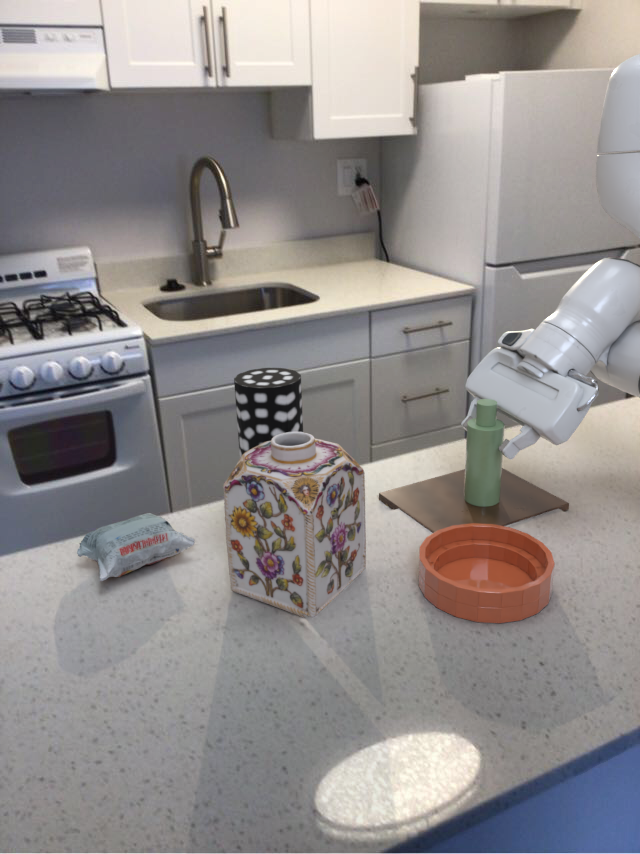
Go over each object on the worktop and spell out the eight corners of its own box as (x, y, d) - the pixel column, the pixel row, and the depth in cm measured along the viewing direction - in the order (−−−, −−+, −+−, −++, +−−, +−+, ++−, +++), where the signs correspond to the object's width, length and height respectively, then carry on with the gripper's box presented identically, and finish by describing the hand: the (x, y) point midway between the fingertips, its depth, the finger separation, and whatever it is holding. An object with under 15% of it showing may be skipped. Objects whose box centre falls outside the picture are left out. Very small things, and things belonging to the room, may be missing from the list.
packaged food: (196, 560, 92) (192, 524, 90) (102, 595, 86) (96, 557, 84) (165, 533, 99) (161, 499, 97) (76, 564, 92) (70, 528, 91)
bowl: (491, 544, 93) (493, 512, 92) (579, 603, 82) (583, 567, 80) (393, 577, 87) (394, 543, 86) (473, 646, 75) (475, 608, 74)
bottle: (484, 488, 106) (489, 393, 101) (507, 501, 102) (513, 403, 97) (456, 496, 104) (460, 400, 99) (479, 510, 100) (484, 410, 95)
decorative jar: (313, 625, 79) (307, 469, 73) (227, 593, 85) (214, 446, 79) (369, 571, 89) (368, 429, 82) (288, 546, 95) (281, 411, 88)
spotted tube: (253, 504, 106) (243, 367, 98) (311, 507, 104) (306, 368, 97) (237, 533, 98) (225, 387, 91) (300, 537, 97) (293, 388, 89)
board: (490, 467, 115) (490, 461, 114) (569, 509, 101) (569, 503, 101) (378, 499, 106) (378, 492, 106) (448, 549, 93) (448, 542, 92)
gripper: (619, 398, 91) (544, 485, 92) (522, 356, 109) (460, 429, 110) (592, 367, 88) (515, 458, 89) (497, 329, 106) (433, 405, 107)
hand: (484, 442), depth 100 cm, fingers open, 8 cm apart
